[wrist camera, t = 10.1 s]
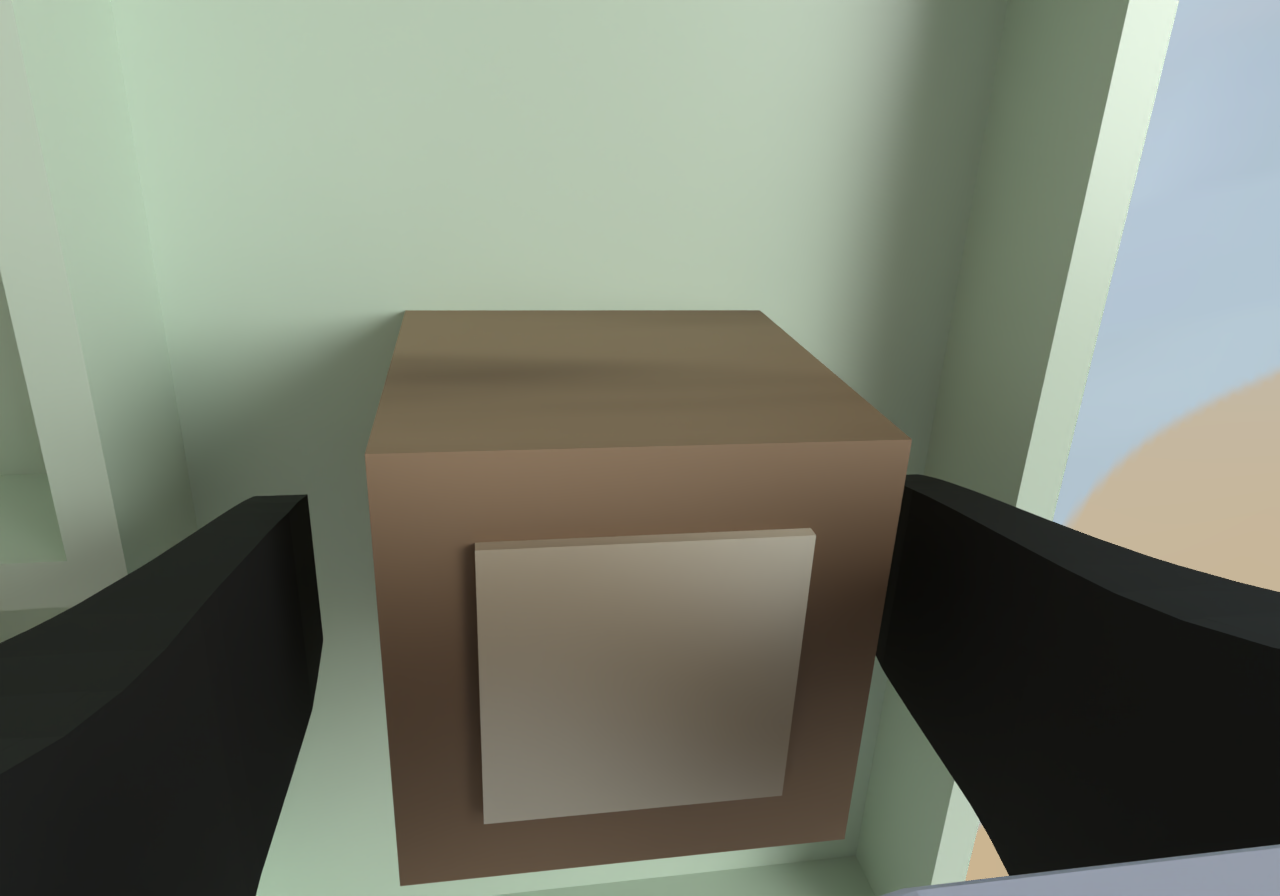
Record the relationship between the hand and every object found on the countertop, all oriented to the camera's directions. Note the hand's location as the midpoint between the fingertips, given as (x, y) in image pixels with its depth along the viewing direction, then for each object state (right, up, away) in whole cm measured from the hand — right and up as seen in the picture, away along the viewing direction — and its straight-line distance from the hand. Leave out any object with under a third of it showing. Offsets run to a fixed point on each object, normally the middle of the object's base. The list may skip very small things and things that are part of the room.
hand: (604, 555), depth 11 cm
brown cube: (0, +1, +2) cm, 2 cm away
